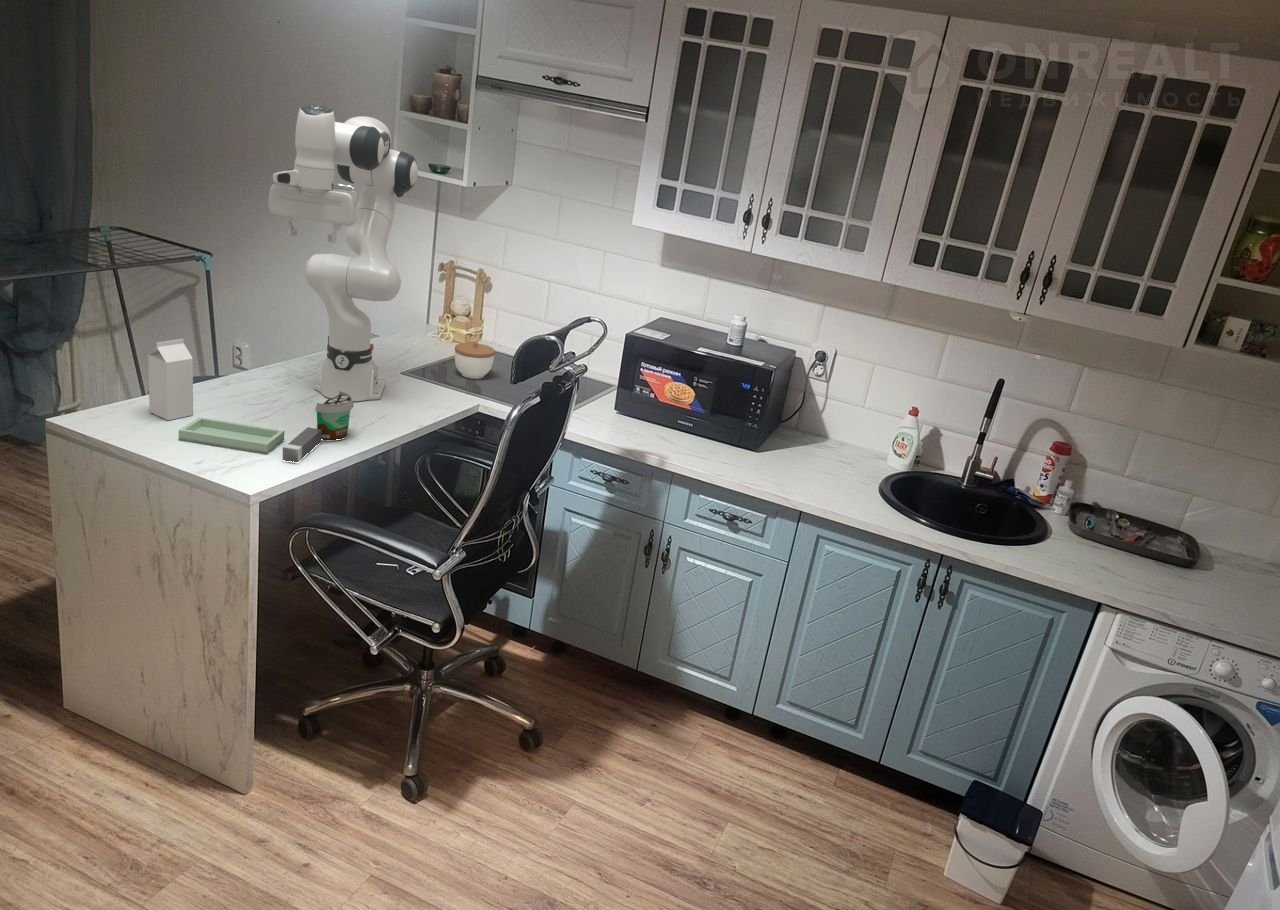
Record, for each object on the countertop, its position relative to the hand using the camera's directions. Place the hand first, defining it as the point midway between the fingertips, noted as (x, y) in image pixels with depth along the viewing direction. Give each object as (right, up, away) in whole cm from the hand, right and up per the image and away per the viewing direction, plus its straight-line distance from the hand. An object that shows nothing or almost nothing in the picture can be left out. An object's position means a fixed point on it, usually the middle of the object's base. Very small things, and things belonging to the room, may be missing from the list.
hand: (312, 239), depth 226 cm
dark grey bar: (-3, -51, +2) cm, 51 cm away
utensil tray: (-20, -48, +2) cm, 52 cm away
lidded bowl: (+24, -26, +80) cm, 88 cm away
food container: (+1, -47, +15) cm, 49 cm away
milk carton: (-39, -41, +12) cm, 58 cm away
